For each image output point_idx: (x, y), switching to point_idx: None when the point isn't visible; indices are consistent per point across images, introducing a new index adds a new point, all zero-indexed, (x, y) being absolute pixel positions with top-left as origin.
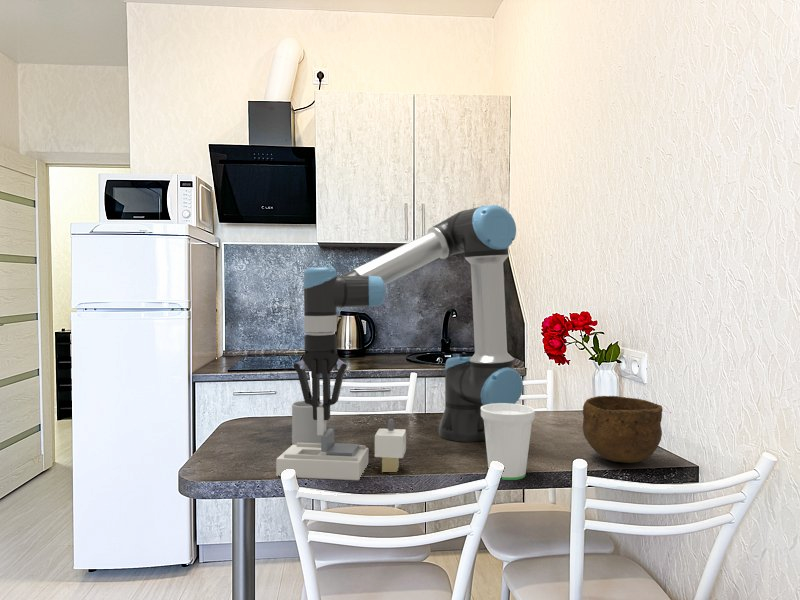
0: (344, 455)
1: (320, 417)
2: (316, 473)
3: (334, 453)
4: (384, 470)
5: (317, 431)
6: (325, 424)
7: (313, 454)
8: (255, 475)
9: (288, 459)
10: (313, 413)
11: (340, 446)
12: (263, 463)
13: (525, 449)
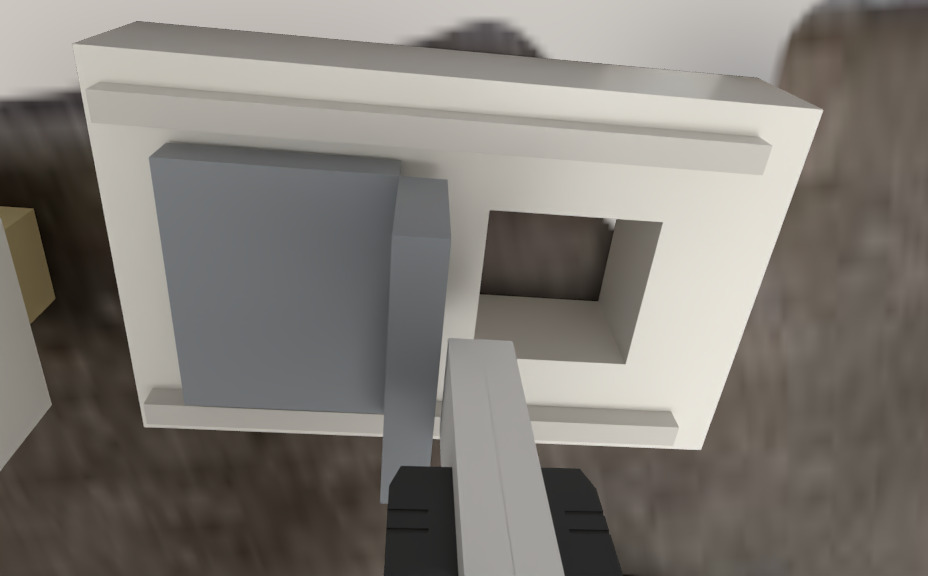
0: (231, 154)
1: (495, 471)
2: (467, 56)
3: (323, 166)
4: (7, 213)
5: (514, 362)
6: (444, 465)
7: (535, 339)
8: (901, 93)
9: (720, 101)
10: (602, 535)
11: (314, 338)
12: (840, 326)
13: None
